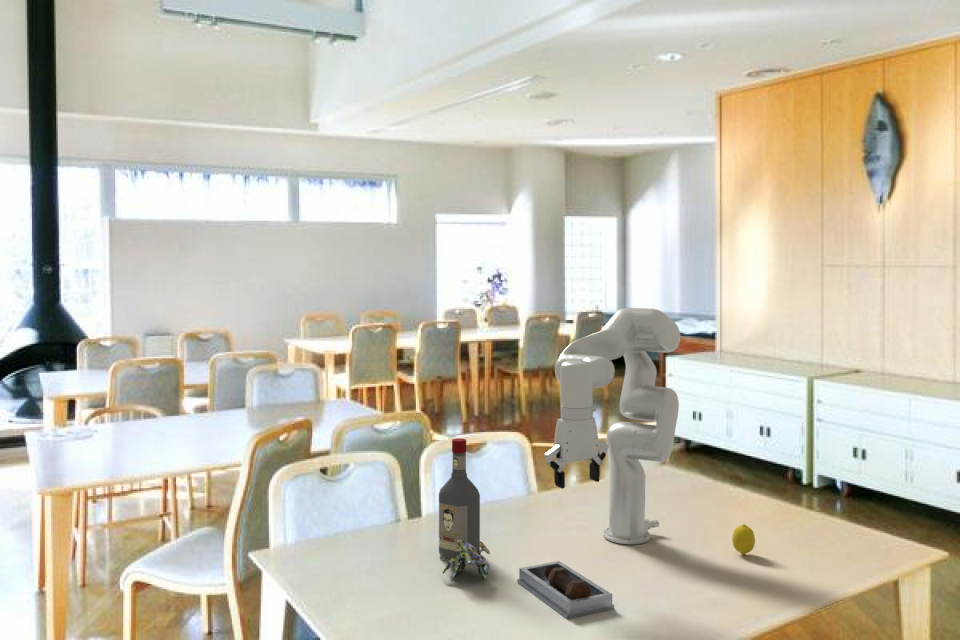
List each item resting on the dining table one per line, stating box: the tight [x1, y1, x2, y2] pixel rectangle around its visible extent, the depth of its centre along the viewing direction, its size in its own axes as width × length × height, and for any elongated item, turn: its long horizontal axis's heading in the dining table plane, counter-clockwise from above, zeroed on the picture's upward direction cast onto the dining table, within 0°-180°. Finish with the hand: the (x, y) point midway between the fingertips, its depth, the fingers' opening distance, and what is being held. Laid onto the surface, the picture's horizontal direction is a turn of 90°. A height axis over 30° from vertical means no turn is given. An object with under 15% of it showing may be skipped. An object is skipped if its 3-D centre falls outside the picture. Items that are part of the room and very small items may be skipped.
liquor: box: [438, 437, 481, 561], centre depth 210 cm, size 9×9×30 cm
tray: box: [516, 560, 615, 620], centre depth 186 cm, size 12×22×3 cm, turn 26°
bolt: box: [545, 566, 591, 600], centre depth 185 cm, size 6×5×15 cm
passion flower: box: [439, 540, 491, 582], centre depth 195 cm, size 11×11×12 cm
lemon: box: [731, 523, 756, 556], centre depth 211 cm, size 6×6×8 cm
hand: (577, 483), depth 196 cm, fingers open, 9 cm apart
